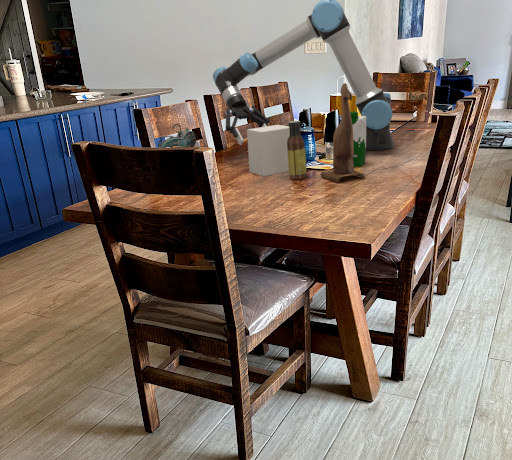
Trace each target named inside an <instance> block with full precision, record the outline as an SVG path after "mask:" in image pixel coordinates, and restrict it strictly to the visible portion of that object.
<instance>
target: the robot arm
mask: <svg viewBox="0 0 512 460" xmlns="http://www.w3.org/2000/svg"><path fill="white" fill-rule="evenodd" d="M350 29H351V24H350V23H349V20H348V18H347V16H346V14H345V12H344V9H343V7H342V5H341V4H340V2H338V0H320V1H318V2H317V3H316V5H315V6H314V7H313V9H312V11H311V14H310V15H308V16H307V18H306V20H305V21H303V22H301V23H300V24H299V25H297V26H295V27H294V28H292V29H290V30H289V31H287V32H285V33H284V34H282V35H280V36H278V37H277V38H276V39H274V40H272V41H271V42H269V43H268V44H266V45H264V46H263V47H261V48H259V49H258V50H257V51H255V52H253V53H250V52H245V53H244V54H243V55H241V56H240V57H239V58H238V59H236V61H234V62H233V63H232V64H231V65H230V66H229V67H228V68H227V67H225V66H220V67H219V68H217V69H215V70H214V72H212V79H213V81H214V83H215V84H214V85H215V86H216V88H217V90H218V91H219V93H220V95H221V97H222V98H223V100H224V102H225V104H226V106H227V108H226V109H225V112H224V116H225V131H226V132H229V134H231V135H233V137H234V138H235V139H236V140H237V142H238V144H239V145H240V146H242V145H243V142H244V138H243V136H242V135H241V133H240V131H239V129H238V127H236V126H237V125H236V124H237V122H238V119H239V120H246V119H247V120H249V121H250V120H251V121H252V122H254V123H255V124H258V125H259V126H261V127H266V126H269V123H270V119H269V118H268V117H267V116H266V115H264V114H263V113H261V111H259V110H258V109H257V108H256V106H255V105H252V106H251V107H248V105H247V102H246V100H245V97H244V96H243V95H242V92H241V91H240V89H239V87H238V86H237V85H238V84H239V83H241V82H242V81H243V80H245V78H247V77H249V76H254V75H256V74H257V73H258V72H260V71H261V70H263V69H264V68H266V67H267V66H269V65H271V64H272V63H274V62H276V61H277V60H279V59H281V58H283V57H284V56H286V55H287V54H290V53H291V52H293V51H295V50H296V49H297V48H299V47H301V46H303V45H305V44H306V43H308V42H309V41H311V40H313V39H315V38H316V39H320V38H321V39H322V41H323V42H324V43H326V44H329V47H330V49H331V50H332V52H333V54H334V56H335V58H336V60H337V62H338V63H339V66H340V68H341V71H342V72H343V74H344V76H345V78H346V80H347V82H348V84H349V86H350V88H351V90H352V92H353V94H354V95H355V97H356V99H355V107H356V108H357V110H358V113H359V115H360V116H366V151H383V150H390V149H393V148H394V139H393V136H392V133H391V121H392V117H393V108H392V107H391V103H392V102H391V101H392V98H391V97H392V96H391V93H390V92H384V91H383V89H382V88H378V87H377V86H376V84H375V82H374V79H373V77H372V75H371V74H370V72H369V70H368V68H367V66H366V63H365V61H364V59H363V57H362V56H361V53H360V51H359V50H358V47H357V45H356V43H355V41H354V39H353V38H352V35H351V34H350ZM231 115H232V116H234V118H233V121H232V123H231Z"/></svg>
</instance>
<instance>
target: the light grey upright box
mask: <svg viewBox="0 0 512 460" xmlns="http://www.w3.org/2000/svg"><path fill="white" fill-rule="evenodd" d="M289 133H290V131H289V125H288V126H287V125H282V124H275V125H274V124H273V125H268V126H266V127H262V126H261V127H254V128H248V129H246V136H247V151H248V154H247V155H248V161H247V165H248V166H249V173H253V174H255V175H258V176H262V177H268V176H271V175H272V176H273V175H277V174H282V173H286V172H289V167H288V153H287V140H288V138H289V136H290V134H289Z"/></svg>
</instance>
